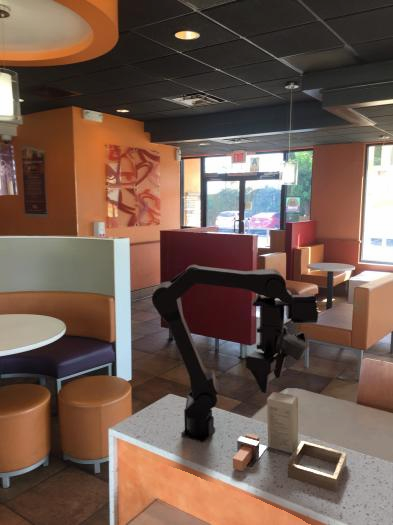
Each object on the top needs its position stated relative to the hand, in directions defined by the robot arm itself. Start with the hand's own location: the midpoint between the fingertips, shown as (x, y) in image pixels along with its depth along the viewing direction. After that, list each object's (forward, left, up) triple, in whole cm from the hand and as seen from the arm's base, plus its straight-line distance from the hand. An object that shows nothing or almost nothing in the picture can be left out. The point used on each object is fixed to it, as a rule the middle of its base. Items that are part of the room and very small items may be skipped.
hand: (271, 384), depth 108 cm
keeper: (-1, -10, -13) cm, 17 cm away
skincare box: (+4, -4, -13) cm, 14 cm away
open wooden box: (+14, -9, -13) cm, 21 cm away
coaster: (+4, -4, -13) cm, 14 cm away
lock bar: (-1, -12, -13) cm, 18 cm away
